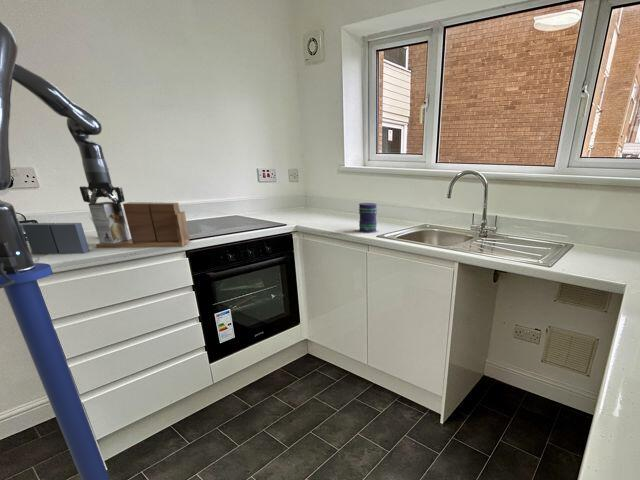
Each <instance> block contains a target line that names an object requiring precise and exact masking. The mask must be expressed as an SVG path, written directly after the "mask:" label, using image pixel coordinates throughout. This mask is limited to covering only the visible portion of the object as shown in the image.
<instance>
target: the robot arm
mask: <svg viewBox="0 0 640 480" xmlns="http://www.w3.org/2000/svg"><path fill="white" fill-rule="evenodd" d="M18 46H19V45H18V42H17V38H16V36H15V35H14V33H13V32H12V30H11V28H9V26H8V25H7V24H5V23H3V22H2V21H0V191H5V190H7V189H8V188H9V187H10V185H11V184H12V183H11V182H12V165H11V155H10V154H11V153H10V124H11V122H10V121H11V114H12V113H11V111H12V110H11V108H12V89H13V81H14V82H16V83H17V84H18V85H20V86H22V87H23V88H24V89H26V90H27V91H28V92H30V93H31V94H33V96H35V97H36V98H37V99H38V100H39V101H41V102H42V103H43V104H44V105H45V106H47V107H48V108H49V109H51V110H52V111H53V112H54V113H55V114H56V115H58V116H60V117H64V118H66V126H67V129H68V131H69V133H70V135H71V137H72V139H73V140H74V142H75V144H76V146H77V147H78V150H79V154H80V158H81V163H82V168H83V172H84V175H85V178H86V179H85V180H86V182H87V186H85V185H82V186H79V191H80V195H81V197H82V200H83V202H84V203H88V204H92V203H96V201H97V202H98V199H99V198H108V199H109V200H110V201H111V202H114V203H115V204H114V207H115V211H116V213H120V212H121V207H122V205H121V206H120V203H121V204H122V203H124V202H125V201H126V200H125V195H124V191H123V187H122V186H113V183H112V179H111V174H110V171H109V167H108V164H107V161H106V159H105V155H104V151H103V147H102V145H101V144H100V143H98V142H95V141H93V140H92V138H91V137H90V136H98V135H100V134H101V133H102V131H103V127H102V124H101V122H100V120H99V119H98V118H97V117H96V116H95V115H94V114H92V113H91V112H90V111H88V110H87V109H85V108H83V106H82V105H79V104H77V103H76V102H74V101H73V100H72V99H71V98H70V97H68V95H67V94H65V92H63V91H62V90H61V89H60V88H59V87H57V86H56V84H54V83H52V82H51V81H49V80H48V79H46V78H44V77H42V76H41V75H38V74H37V73H35V72H33V71H31V70H29V68H26V67H24V66H23V65H21V64H19V63H18V62H17V58H18V53H19V47H18ZM89 191H90V192H91V194H92V195H91V196H89V194H90V193H89ZM114 192H115V193H116V195H115V193H114ZM27 242H28V241H27V239H26V237H25V235H24V230H23V228H22V226H21V224H20V220H19V217H18V214H17V212H16V209H15V206H14V205H13V204H11V203H10V202H7V201H5V200H1V199H0V274H1V275H2V276H3V277H4V278H5V279H6V280H7V281H9V282H7V283H5V284H1V285H0V289H4V288H3V287H7V286H9V285H11V284H13V283H14V282H15V280H13V279H10V278H9V277H8V276H7V275H6V274H16V273H19V272H25V271H29V270H32V269H34V268H36V266H35V264H34V263H35V261H34V260H33V259H34V258H33V256H32V252H31V251H30V248H29V246H28V243H27Z"/></svg>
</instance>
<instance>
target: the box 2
mask: <svg viewBox="0 0 640 480" xmlns="http://www.w3.org/2000/svg"><path fill="white" fill-rule="evenodd" d="M149 205H150V210H151V214H152V219H153V223H154V228H155V232H156V237H157V241H158V242H179V239H178V234H177V229H176V224H175V219H174V214H176V213H179V212H181V210H180V204H179V202H161V201H160V202H157V201H156V202H154V203H151V204H149Z"/></svg>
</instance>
